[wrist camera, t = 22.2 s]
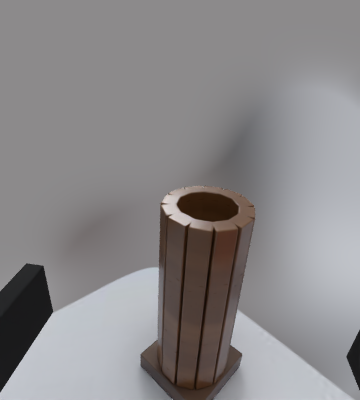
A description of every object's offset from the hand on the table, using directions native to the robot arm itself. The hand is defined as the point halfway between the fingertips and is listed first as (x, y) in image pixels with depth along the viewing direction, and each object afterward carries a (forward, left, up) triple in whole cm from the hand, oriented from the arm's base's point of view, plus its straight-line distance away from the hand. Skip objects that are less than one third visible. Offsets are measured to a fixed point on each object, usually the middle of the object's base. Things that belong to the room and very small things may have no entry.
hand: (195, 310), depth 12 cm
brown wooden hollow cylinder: (-4, +6, -13) cm, 14 cm away
